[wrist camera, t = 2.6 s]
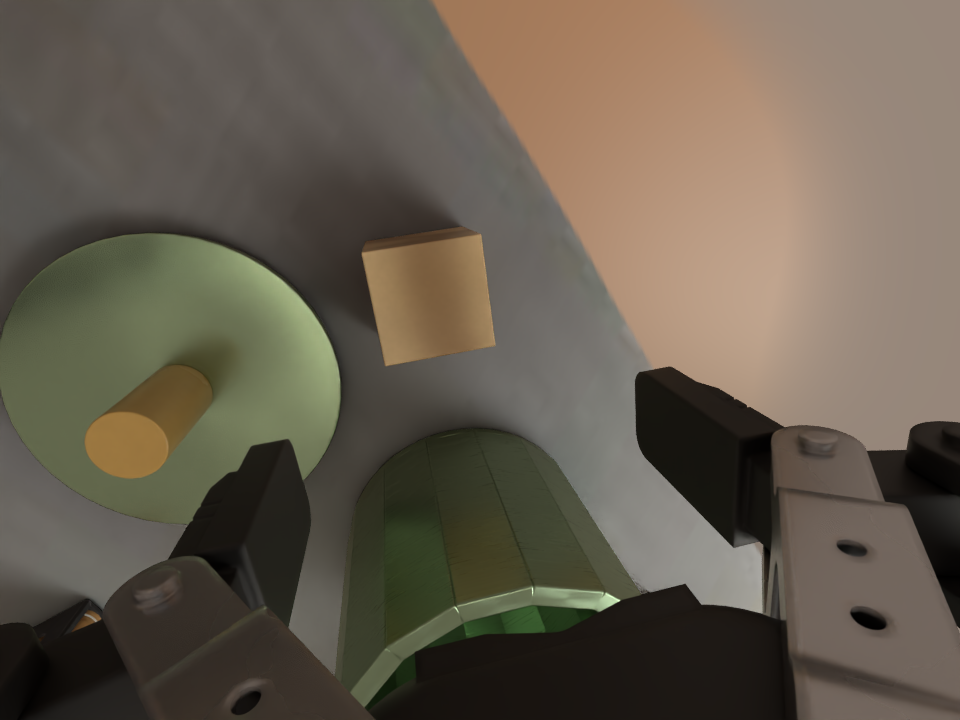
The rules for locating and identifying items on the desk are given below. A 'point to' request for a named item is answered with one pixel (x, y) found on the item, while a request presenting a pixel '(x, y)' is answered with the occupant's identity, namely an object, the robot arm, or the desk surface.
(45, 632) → the ammunition clip
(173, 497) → the lid
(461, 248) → the block
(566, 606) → the canister
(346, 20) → the desk surface
